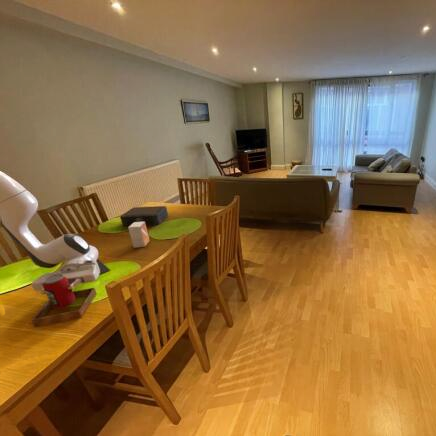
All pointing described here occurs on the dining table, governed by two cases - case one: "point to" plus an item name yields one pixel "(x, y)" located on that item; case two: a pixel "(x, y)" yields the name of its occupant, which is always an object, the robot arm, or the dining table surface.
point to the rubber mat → (102, 267)
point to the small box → (139, 234)
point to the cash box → (145, 215)
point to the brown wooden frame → (42, 320)
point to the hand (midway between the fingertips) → (57, 290)
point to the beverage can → (58, 291)
